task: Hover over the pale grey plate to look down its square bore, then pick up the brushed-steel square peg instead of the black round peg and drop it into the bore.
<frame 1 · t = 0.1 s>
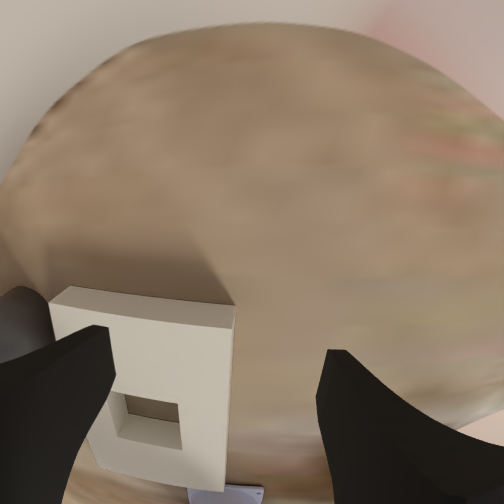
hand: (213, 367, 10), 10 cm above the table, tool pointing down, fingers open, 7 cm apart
round peg: (31, 321, 21), on the table
bore plate: (154, 397, 22), on the table
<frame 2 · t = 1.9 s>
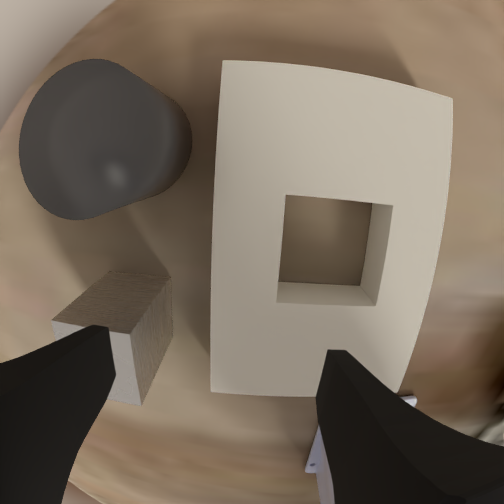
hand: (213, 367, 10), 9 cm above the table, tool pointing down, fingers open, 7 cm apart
round peg: (138, 144, 17), on the table
square peg: (141, 304, 19), on the table
bore plate: (323, 240, 18), on the table
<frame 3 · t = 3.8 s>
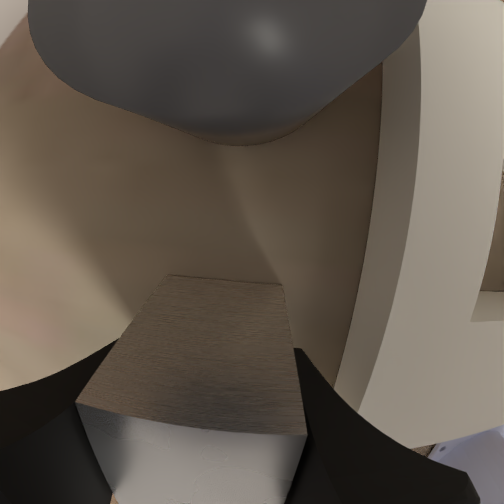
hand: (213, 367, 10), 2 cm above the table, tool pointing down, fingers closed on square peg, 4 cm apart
round peg: (240, 57, 9), on the table
square peg: (221, 330, 12), on the table, touching gripper
bore plate: (490, 231, 11), on the table
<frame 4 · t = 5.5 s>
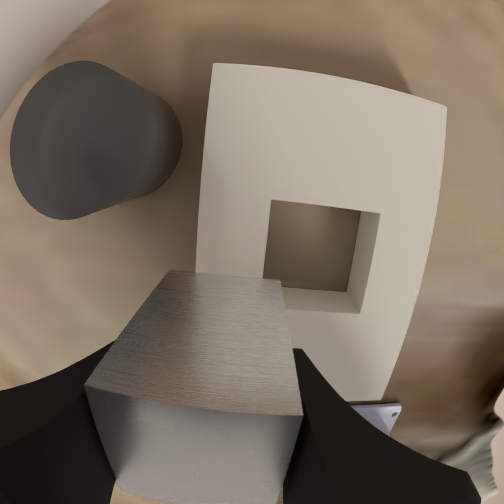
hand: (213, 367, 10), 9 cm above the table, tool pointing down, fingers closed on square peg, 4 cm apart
round peg: (129, 144, 17), on the table
square peg: (221, 324, 12), point 6 cm above the table, touching gripper
bore plate: (310, 245, 18), on the table
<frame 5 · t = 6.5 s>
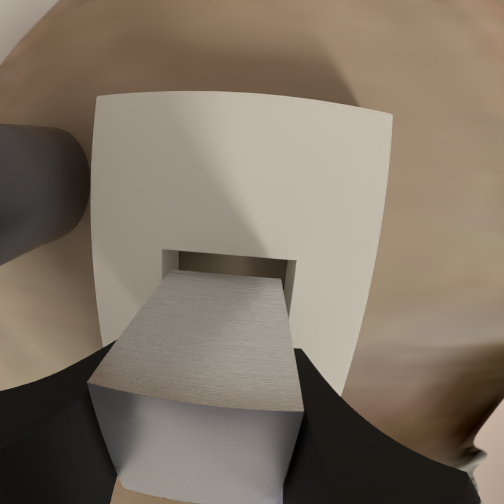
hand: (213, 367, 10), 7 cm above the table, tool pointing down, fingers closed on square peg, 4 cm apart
round peg: (45, 183, 15), on the table
square peg: (222, 323, 13), point 4 cm above the table, touching gripper
bore plate: (230, 289, 16), on the table
when the fingers open (4 cm above the table, at t = 7.5 s): square peg drops 1 cm, resting in bore plate.
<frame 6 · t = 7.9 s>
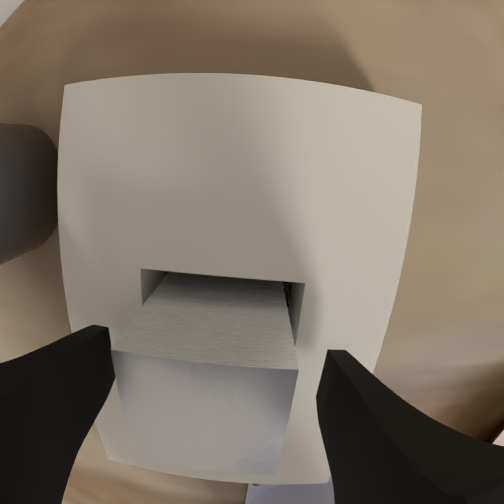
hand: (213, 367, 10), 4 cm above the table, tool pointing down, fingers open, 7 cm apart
round peg: (18, 188, 12), on the table
square peg: (226, 308, 14), resting in bore plate
bore plate: (225, 310, 14), on the table
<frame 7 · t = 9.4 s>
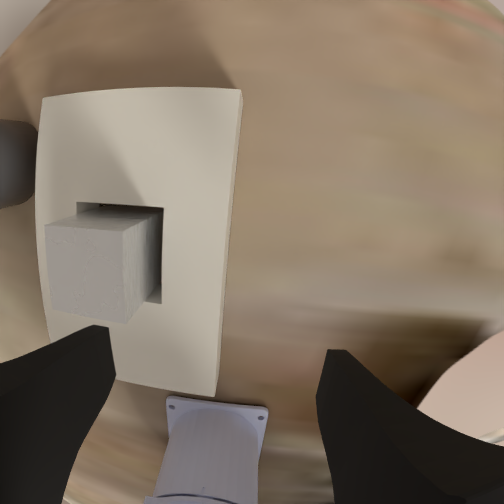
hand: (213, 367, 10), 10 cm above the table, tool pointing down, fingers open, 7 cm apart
round peg: (14, 163, 18), on the table
square peg: (136, 239, 19), resting in bore plate
bore plate: (135, 240, 19), on the table
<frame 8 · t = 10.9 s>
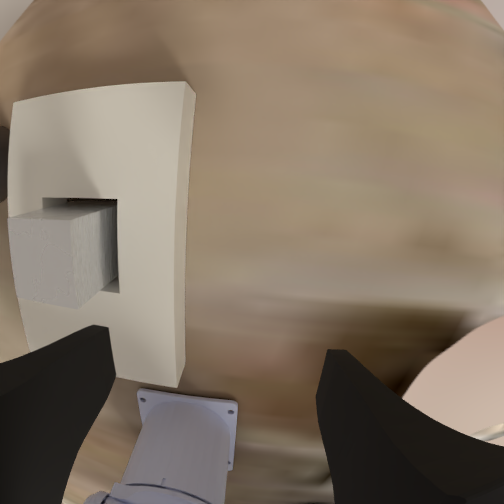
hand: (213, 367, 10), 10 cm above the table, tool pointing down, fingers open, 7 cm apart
square peg: (100, 232, 19), resting in bore plate
bore plate: (100, 233, 19), on the table
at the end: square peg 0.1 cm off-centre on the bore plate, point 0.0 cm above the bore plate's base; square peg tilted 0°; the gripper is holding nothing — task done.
